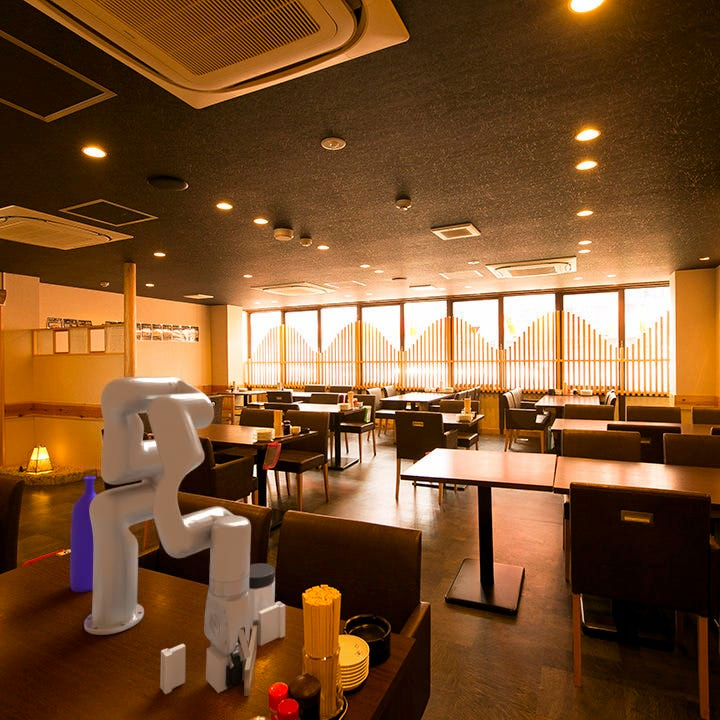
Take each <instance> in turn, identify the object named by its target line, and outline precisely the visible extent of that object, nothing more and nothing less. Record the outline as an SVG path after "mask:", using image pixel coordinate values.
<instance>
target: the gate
mask: <svg viewBox="0 0 720 720" xmlns="http://www.w3.org/2000/svg"><path fill="white" fill-rule="evenodd" d="M258 623H259V621H258V620H254V621H253V629H251V633H250V634H251V635H250V639H249V644H248V648H249V651H250V657H248V658H247V661H246V666H245V679H244V687H243V688H244V690H243V691H244V693H243V694H244V697H247V696H250V693H251V688H252V687H251V686H252V682H253V681H252V680H253V674H254V668H255V662H256V658H257V657H256V656H257V651H258V650H257V649H258V646H259V644H258Z"/></svg>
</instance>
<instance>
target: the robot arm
mask: <svg viewBox="0 0 720 720" xmlns="http://www.w3.org/2000/svg"><path fill="white" fill-rule="evenodd" d="M100 395H101V397H100V409H101V415H102V420H103V436H102V437H103V438H102V446H101V447H102V451H101V461H100V463H101V464H100V474H101V479H102V480H103V482H104V483H106V484H109V485H116V486H117V485H123V484H124V486H119V487H113V488H109V489H107V490H105V491H104V490H103V491H102V492H100V493H98V494H97V496H96V497H94V499H93V500H92V502H91V504H90V508H89V513H90V520H91V525H92V531H93V590H92V603H91V604H92V606H91V607H92V609H91V614H89V615H88V616H87V617H86V618H85V620H84V624H83V626H84V630H85V631H86V632H87V633H88V634H91V635H98V636H100V635H101V636H103V635H105V636H107V635H112V634H118V633H120V632H123V631H124V632H125V630H129V629H131V628H132V627H134V626H135V625H137V624H138V623H140V621H141V620H142V619H143V617H144V615H145V609H144V607H143V606H142V605H141V604H139V603H138V579H139V577H138V576H139V575H138V573H139V570H138V569H139V543H138V539H137V538H136V536H135V535H134V534H133V533H132V531H130V529H129V528H130V527H131V526H134V525H136V524H139V523H142V522H143V523H144V522H145V521H149V520H153V519H154V523H155V526H156V529H157V530H156V531H157V533H158V534H157V535H158V537H159V540H160V542H161V546H162V548H163V549H164V551H165V553H166V554H167V555H168V556H170V557H172V558H176V559H181V558H182V559H183V558H187V557H188V556H191V555H194V554H196V553H199V552H201V551H204V550H206V549H209V548H210V549H209V551H210V552H209V553H210V555H209V557H210V558H209V560H210V561H209V577H208V578H209V579H208V580H209V581H208V583H209V584H208V585H209V586H208V590H207V595H206V601H205V610H204V612H205V613H204V623H203V625H204V627H203V632H204V635H205V636H206V638H207V639H208V640H209V641H210V647H211V646H213V645H215V646H216V647H217V648H218V649H219V650H220V651H221V652H223V653H224V654H226V655H228V666H226V687H227V689H229V688H231V687H233V686H235V685H237V684H240V682H242V681H243V680H242V671H243V662H244V660H245V659H247V658H248V657H250V651H249V644H250V637H251V635H250V634H251V633H250V632H251V629H250V610H249V598H248V593H247V592H248V590H249V573H250V565H251V544H252V543H251V540H252V538H251V537H252V536H251V535H252V525H251V522H250V520H249V519H248V518H247V517H244V516H242V515H235V514H233V513H232V512H231V511H230V510H228V509H227V508H224V507H223V506H212V507H207V508H204V509H200V510H197V511H193V512H191V513H188V514H184V515H182V514H181V511H180V508H179V502H178V491H179V488H180V485H181V483H182V481H183V480H184V478H185V477H186V475H188V474H189V473H190V472H191V471H193V470H194V469H196V468H198V466H200V465H201V464H202V463H203V462H204V460H205V455H206V454H205V451H204V449H203V447H202V446H203V445H202V442H201V440H200V437H199V433H198V431H197V430H199V429H205V428H208V426H210V425H211V424H212V422H213V420H214V418H215V417H214V415H215V409H214V407H213V406H214V405H213V403H212V401H211V400H210V397H208V396H207V395H206V394H205V393H204V392H203V391H201V390H200V389H198V388H196V387H195V386H193V385H191V384H190V383H188V382H186V381H185V380H183V379H181V378H179V377H175V376H128V377H119V378H116V379H113V380H110V381H109V382H108V383H107V384H106V385H105V386H104V387H103V390H102V392H101V394H100ZM139 414H147V417H148V422H149V425H150V428H151V432H152V436H153V439H146V440H143V439H144V433H145V432H144V431H145V428H144V427H145V426H144V422H143V420H142V419H141V417H140V415H139ZM138 481H139V482H138ZM140 481H141V482H140ZM134 482H138V483H134ZM128 483H133V484H128ZM125 484H127V485H125ZM237 643H238V644H237ZM236 644H237V645H236ZM237 650H238V655H237V656H235V657H234V658H233V652H235V651H237Z"/></svg>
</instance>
